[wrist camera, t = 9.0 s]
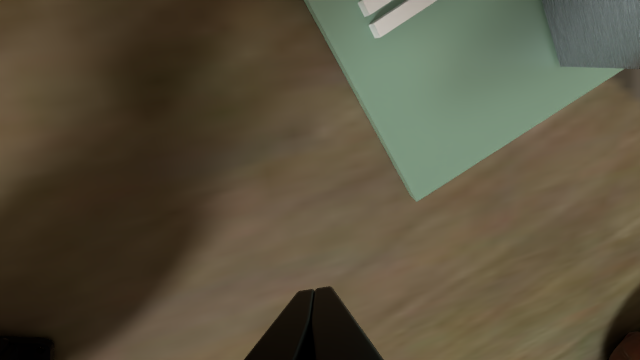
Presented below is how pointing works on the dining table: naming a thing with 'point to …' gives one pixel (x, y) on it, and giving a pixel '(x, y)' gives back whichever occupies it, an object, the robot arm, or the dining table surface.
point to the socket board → (449, 77)
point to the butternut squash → (628, 348)
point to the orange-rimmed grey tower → (595, 32)
